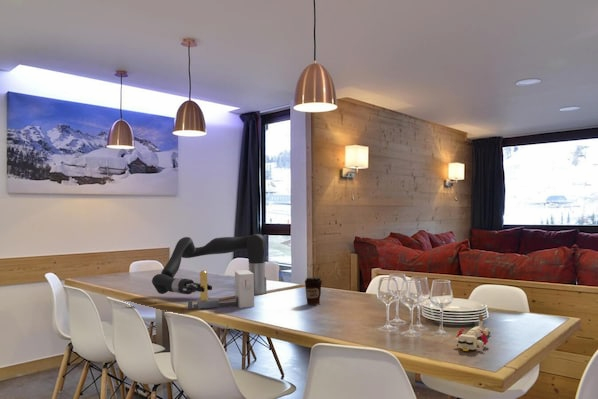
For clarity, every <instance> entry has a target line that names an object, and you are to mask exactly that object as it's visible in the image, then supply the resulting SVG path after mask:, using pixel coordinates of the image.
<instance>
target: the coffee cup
mask: <svg viewBox="0 0 598 399" xmlns="http://www.w3.org/2000/svg"><path fill="white" fill-rule="evenodd" d="M322 282H323V281H322V279H321V277H318V276H315V277H314V276H313V277H312V276H311V277H306V279H305V281H304V285H305V286H304V287H305V295H306V296H305V298H306V304H307V305H309V306H318V305H321V300H320V299H321V295H322Z"/></svg>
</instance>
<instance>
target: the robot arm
mask: <svg viewBox="0 0 598 399" xmlns="http://www.w3.org/2000/svg"><path fill="white" fill-rule="evenodd" d="M266 244H267V240H266V237H265V236H264V235H263V234H261V233H255V234H251V235H246V236H223V237H216V238H213V239H211V240H210V241H209V242H207V243H206V244H205V245H203V246H199V247H195V244H194V241H193V239H192V238H191V237H188V236H184V237H182V238H180V239H178V241H177V243H176V244H175V247H174V250H173V251H172V254H171V256H170V258H169V260H168V262H167V263H166V264H165V266H164V268H163V269H162V271H161V273H158V274H155V275H154V276H153V277H152V279H151V283H152V285H153V287H154V288H155V290H156V291H157V293H158V294H161V295H164V294H166V293H168V292H170V293H176V294H183V295H191V294H192V293H198V292H199V293H200V292H204V291H205V288H204V287H200V282H199V283H198V282H195V281H194V280H193V279H191V278H182V277H181V278H179V277H177V278H176V277H175V276H176V274H177V273H178V271H179V270H180V266H181V262H182V258H183V259H191V258H192V259H193V258H196V257H203V256H207V255H221V254H229V253H234V252H238V251H243V250H246V252H247V255H246V256H247V260H248V270H249V271H250V272H252V273H253V274H254V296H255V295H256V296H257V295H265V294H267V293H268V292H267V289H268V288H267V276H266V258H265V255H264V248H265V246H266ZM207 291H213V285H211V284H209V283H207Z"/></svg>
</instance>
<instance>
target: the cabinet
mask: <svg viewBox="0 0 598 399" xmlns="http://www.w3.org/2000/svg"><path fill="white" fill-rule="evenodd" d="M234 289H235V291H234V292H235V293H234V294H235V298H234V299H235V300H234V301H237V302H238V307H239V308H240V309H243V308H244V307H245V308H254V307H255V295H254V274H253V273H252V272H250V271H249V269H248V270H234Z"/></svg>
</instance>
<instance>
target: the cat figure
mask: <svg viewBox="0 0 598 399" xmlns="http://www.w3.org/2000/svg"><path fill="white" fill-rule="evenodd" d="M483 317H484V316H483V314H478V319H479V321H478V326H477V325H476V326H474V327H473V328H471V329H469V330H468V331H467V332H466V333H463V332H464V330H465V329H467V327H465V328H464V327H463V328H461V329H460V330H458V333H457V335H456V336H455V338H453V343H455V344H458V345H457V346H458V347H459V348H460V349H462V351H464V352H468V351H469V350H472V351H473V350H479V349H480V348H479V347H483V346H485V345H486V346H487V344H488V342H489V339H488V338H487V337H488V336H490V335H491V331H490V330H489V328H488V327H485V328H484V327H483V322H484V318H483ZM480 337H481V339H482V340H480V339H478V338H480Z"/></svg>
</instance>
